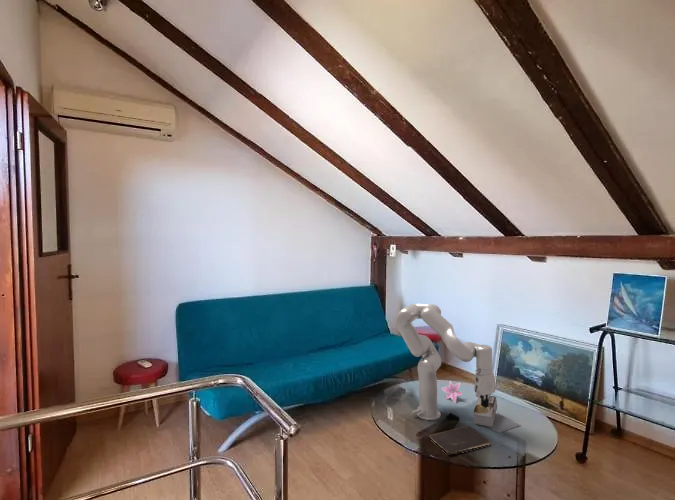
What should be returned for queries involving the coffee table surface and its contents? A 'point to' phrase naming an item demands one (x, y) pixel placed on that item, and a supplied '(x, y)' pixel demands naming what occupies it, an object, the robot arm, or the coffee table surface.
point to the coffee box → (485, 412)
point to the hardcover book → (459, 439)
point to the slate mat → (503, 424)
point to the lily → (452, 391)
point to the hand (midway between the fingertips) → (484, 406)
